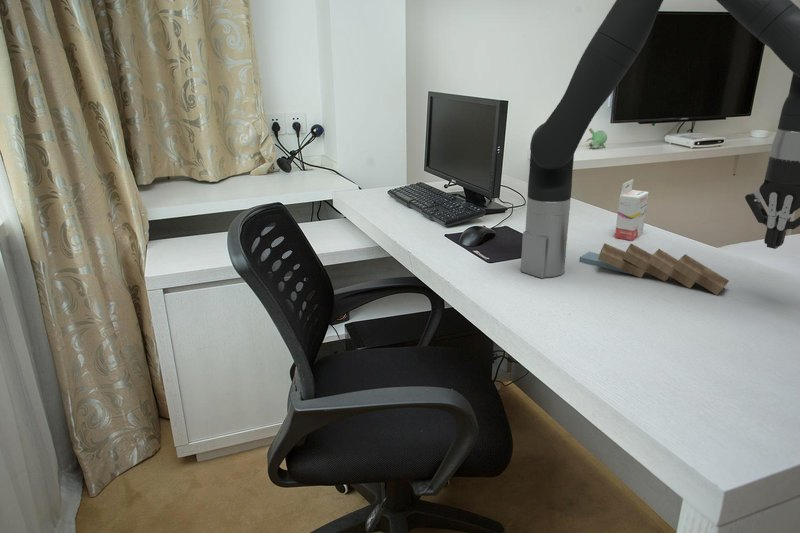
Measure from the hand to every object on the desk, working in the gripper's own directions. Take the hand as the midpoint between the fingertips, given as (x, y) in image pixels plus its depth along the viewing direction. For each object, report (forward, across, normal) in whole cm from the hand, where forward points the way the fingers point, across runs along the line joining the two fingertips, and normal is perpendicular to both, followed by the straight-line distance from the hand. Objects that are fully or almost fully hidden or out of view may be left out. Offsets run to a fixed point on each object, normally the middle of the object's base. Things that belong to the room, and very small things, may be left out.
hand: (772, 247), depth 110 cm
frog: (+12, -126, +143) cm, 190 cm away
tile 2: (+11, -13, 0) cm, 17 cm away
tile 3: (+11, -18, 0) cm, 21 cm away
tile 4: (+11, -23, -2) cm, 25 cm away
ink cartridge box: (+12, -40, +22) cm, 47 cm away
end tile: (+12, -26, -1) cm, 29 cm away
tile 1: (+11, -7, +1) cm, 13 cm away
